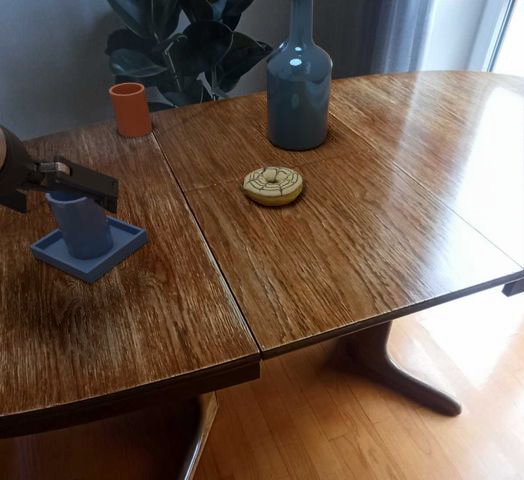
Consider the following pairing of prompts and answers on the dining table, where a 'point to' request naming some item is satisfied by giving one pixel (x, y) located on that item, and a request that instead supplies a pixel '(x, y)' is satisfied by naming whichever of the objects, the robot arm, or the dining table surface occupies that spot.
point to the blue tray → (90, 270)
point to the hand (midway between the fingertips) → (69, 204)
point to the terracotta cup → (131, 109)
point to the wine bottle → (298, 85)
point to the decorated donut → (273, 185)
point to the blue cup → (81, 225)
